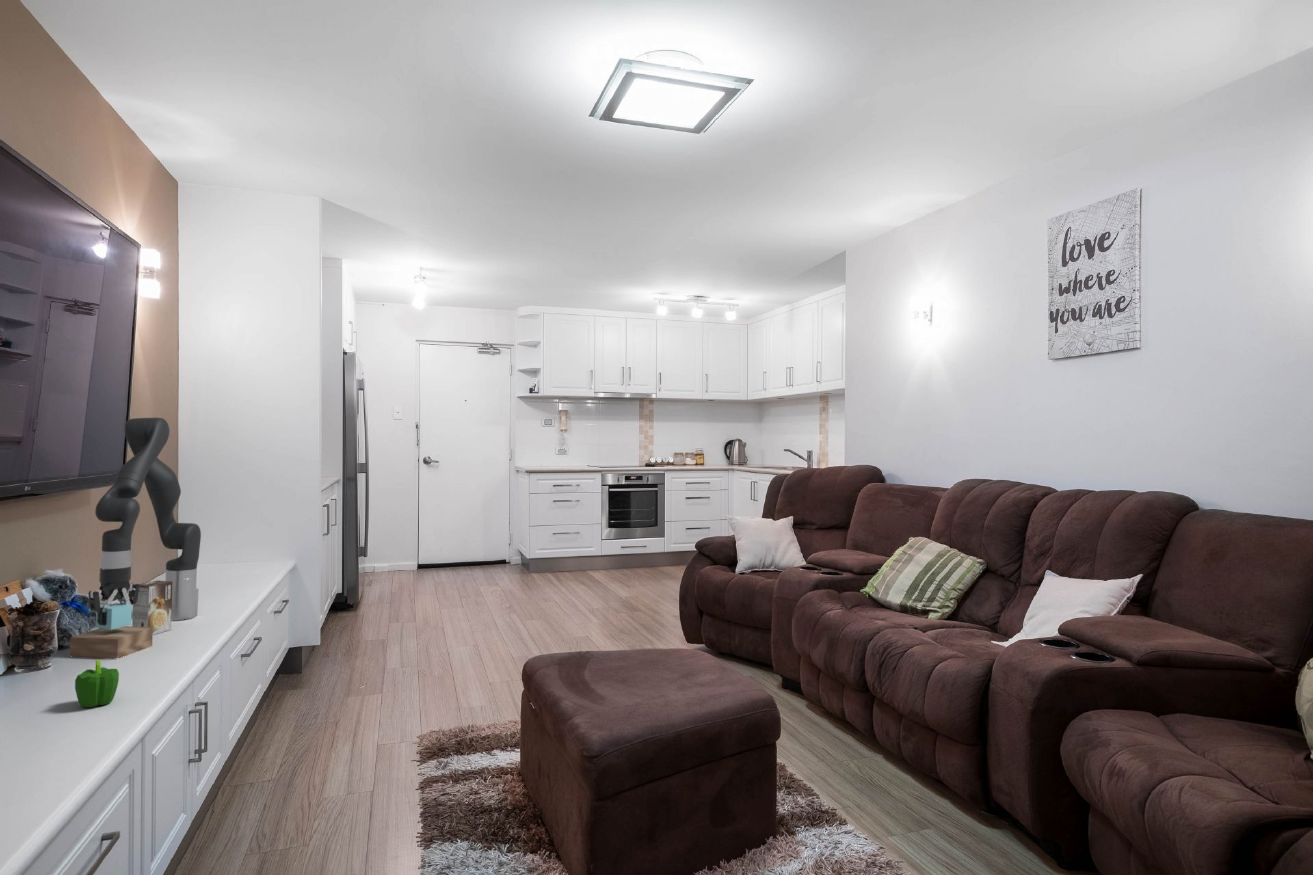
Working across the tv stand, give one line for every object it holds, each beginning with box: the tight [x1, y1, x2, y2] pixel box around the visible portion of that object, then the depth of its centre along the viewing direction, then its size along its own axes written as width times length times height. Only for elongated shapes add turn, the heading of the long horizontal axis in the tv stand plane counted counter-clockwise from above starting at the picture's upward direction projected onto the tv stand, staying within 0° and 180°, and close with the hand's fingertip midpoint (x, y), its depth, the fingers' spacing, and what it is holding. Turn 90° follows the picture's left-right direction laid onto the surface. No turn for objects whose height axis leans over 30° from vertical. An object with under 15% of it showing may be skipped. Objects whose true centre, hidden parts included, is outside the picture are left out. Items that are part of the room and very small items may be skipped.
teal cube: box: [95, 602, 133, 630], centre depth 219 cm, size 6×6×6 cm
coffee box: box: [131, 580, 173, 636], centre depth 241 cm, size 9×6×16 cm
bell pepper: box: [74, 659, 120, 708], centre depth 177 cm, size 8×8×10 cm
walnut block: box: [69, 625, 154, 659], centre depth 219 cm, size 14×14×6 cm
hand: (113, 622), depth 219 cm, fingers closed on teal cube, 6 cm apart
